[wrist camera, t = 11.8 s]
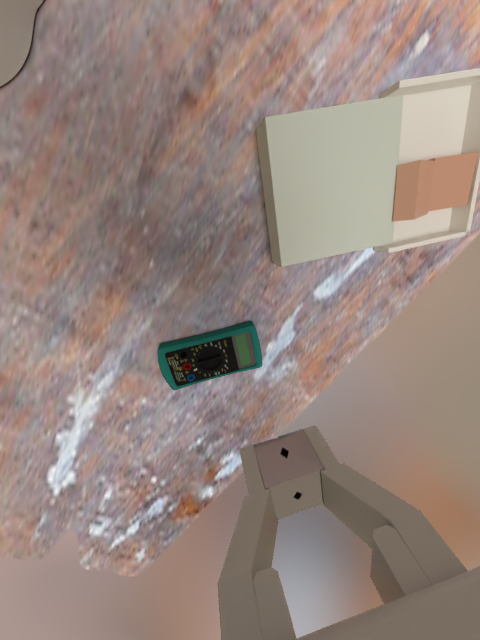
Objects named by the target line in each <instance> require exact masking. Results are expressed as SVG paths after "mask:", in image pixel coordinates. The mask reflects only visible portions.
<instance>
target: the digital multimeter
mask: <svg viewBox="0 0 480 640" xmlns="http://www.w3.org/2000/svg"><path fill="white" fill-rule="evenodd" d="M229 336H230V337H229ZM225 337H226V338H225ZM221 338H222V339H221ZM190 346H191V347H190ZM186 347H187V348H186ZM178 349H179V350H178ZM174 350H175V351H174ZM198 354H199V355H198ZM158 361H159V366H160V370H161V372H162V375H163V377H164V378H165V380H166V382H167V383H168V384H169V386H170V387H171V388H172V389H173V390H177V389H180V388H183V387H186V386H189V385H193V384H196V383H199V382H203V381H206V380H210V379H213V378H217V377H221V376H225V375H229V374H232V373H237V372H241V371H246V370H250V369H255V368H260V367H261V366H262V356H261V348H260V343H259V339H258V335H257V332H256V328H255V326H254V324H253V323H252V322H251V321H248V322H245V323H242V324H238V325H235V326H232V327H228V328H225V329H221V330H218V331H214V332H210V333H206V334H203V335H198V336H194V337H189V338H185V339H180V340H175V341H170V342H165V343H161V344H160V345H159V348H158ZM210 371H211V372H210Z"/></svg>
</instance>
